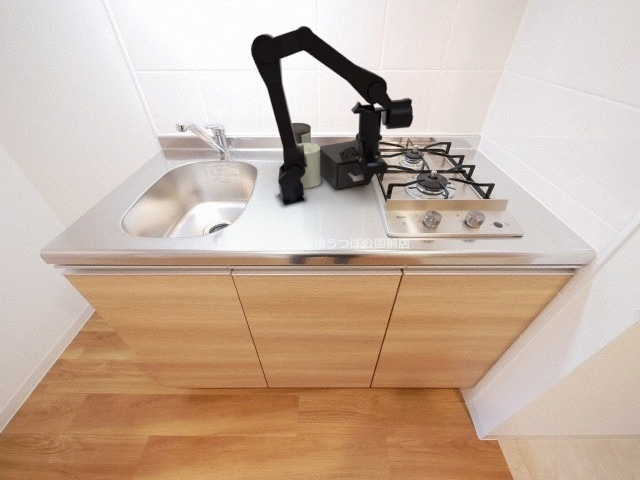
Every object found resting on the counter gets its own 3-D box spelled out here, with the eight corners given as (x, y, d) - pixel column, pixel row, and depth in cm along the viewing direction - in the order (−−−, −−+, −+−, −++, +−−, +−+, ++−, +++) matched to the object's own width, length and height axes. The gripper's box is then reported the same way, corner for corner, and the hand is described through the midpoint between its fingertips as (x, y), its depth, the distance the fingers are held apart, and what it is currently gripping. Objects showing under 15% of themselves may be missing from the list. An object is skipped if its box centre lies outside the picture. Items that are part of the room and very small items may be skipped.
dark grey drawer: (377, 187, 80) (381, 166, 75) (346, 195, 77) (347, 173, 72) (350, 165, 93) (351, 145, 88) (322, 171, 89) (321, 151, 85)
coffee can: (290, 174, 90) (286, 133, 81) (281, 163, 97) (277, 125, 88) (316, 168, 93) (315, 128, 84) (306, 158, 101) (304, 121, 91)
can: (302, 190, 81) (299, 154, 73) (289, 179, 87) (285, 145, 79) (326, 183, 85) (326, 147, 77) (312, 172, 91) (310, 139, 83)
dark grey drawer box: (369, 181, 85) (372, 155, 79) (335, 189, 81) (336, 163, 75) (348, 165, 95) (350, 140, 89) (318, 171, 91) (317, 146, 85)
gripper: (334, 124, 73) (335, 175, 83) (344, 143, 59) (344, 202, 68) (372, 121, 74) (369, 172, 83) (391, 139, 59) (385, 198, 68)
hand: (366, 185), depth 76 cm, fingers closed
